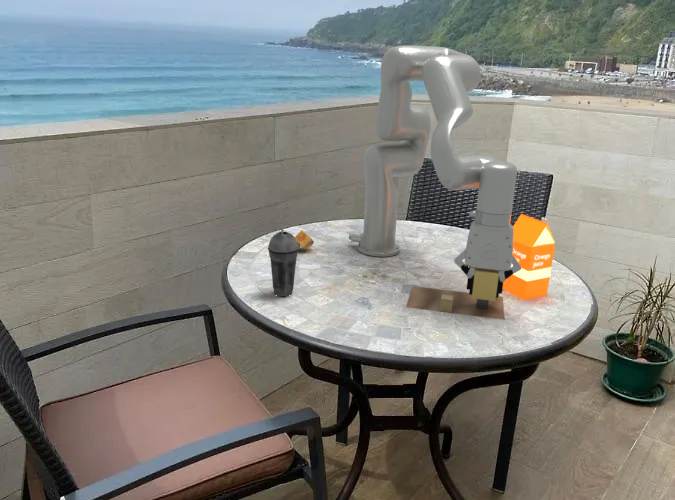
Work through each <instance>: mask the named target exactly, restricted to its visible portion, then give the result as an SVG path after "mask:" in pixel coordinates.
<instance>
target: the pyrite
mask: <svg viewBox="0 0 675 500" xmlns="http://www.w3.org/2000/svg"><path fill="white" fill-rule="evenodd" d="M294 237H295V238H296V240H297V244H298V248H299V249H300V247H301V248H303V250H305V249H307V250H309V249H310V248H311V247H312V246H313V245H314V243H315V241H314V240H313V239H312V238H311V237H310V236H309V235H308V234H307V233H306V232H305V231H304V230H303V229H301V230H300V231H299V232H298V233H297V234H296V235H295V236H294ZM308 248H309V249H308Z"/></svg>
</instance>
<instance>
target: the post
mask: <svg viewBox="0 0 675 500" xmlns="http://www.w3.org/2000/svg"><path fill="white" fill-rule="evenodd" d="M488 303H489V300H482V299H477V301H476V308H478V309H486V310H488Z"/></svg>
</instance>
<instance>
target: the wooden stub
mask: <svg viewBox="0 0 675 500" xmlns="http://www.w3.org/2000/svg"><path fill="white" fill-rule="evenodd" d="M452 303H453V296H451V295H442V296H441V305H440V311H444V312H443V313H448V312H452ZM440 311H439V312H440Z"/></svg>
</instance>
